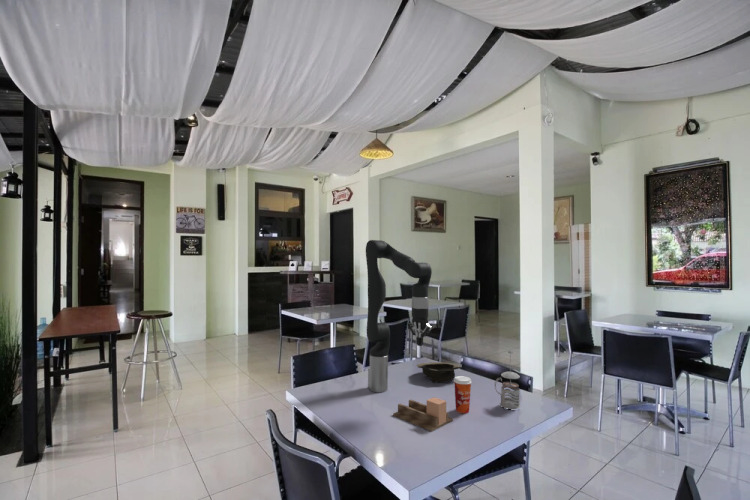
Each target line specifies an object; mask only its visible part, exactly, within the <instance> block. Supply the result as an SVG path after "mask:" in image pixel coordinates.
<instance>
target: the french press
mask: <svg viewBox="0 0 750 500" xmlns="http://www.w3.org/2000/svg"><path fill="white" fill-rule="evenodd" d="M507 353H508V354H509V371H504V372H502V373H501V374H500V375H501V377H497V378H496V379H495V382H494V389H495V391H496V393H497V394H499V395H500V403H499V404H500V406H502V407H504V408H508V409H517V408H520V406H521V405H520V389H521V388H519V384H518V383H516V382H512V380H519V379H520V377H521V376H520V375H519V374H518V373H516V372H513V371H511V370H512V369H511V367H512V366H511V362H512V361H511V360H512V359H511V356H512V355H511V354H513V350H510V349H509V350H508V352H507ZM502 378H504V379H509V381H504V382H503V379H502ZM498 381H501V382H502V384H501V385H502V386H501V392H500V391H498V390H497V387H496V386H497V383H498ZM500 406H499V407H500Z"/></svg>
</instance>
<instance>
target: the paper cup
mask: <svg viewBox="0 0 750 500" xmlns="http://www.w3.org/2000/svg"><path fill="white" fill-rule="evenodd" d="M453 382H454V398H455V399H454V400H455V411H456V413H459V414H468V413H469V412H470V407H471V406H470V405H471V404H470V403H471V389H472V388H471V387H472V379H471V378H470V377H468V376H463V375H460V376H459V375H458V376H455V377H454V379H453Z"/></svg>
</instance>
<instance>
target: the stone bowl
mask: <svg viewBox="0 0 750 500" xmlns="http://www.w3.org/2000/svg"><path fill="white" fill-rule="evenodd" d="M416 366H417V368H419V369H422V374H423V375H425V377H428V378H430V379H431V382H432V383H434V384H435V382H436V383H438V384H439V383H444V382H445V383H446V382H447V383H448V382H449V381H450V380H454V379H455V377H456V374H455V373H456V372H455V370H459V369H460V368H462V367H463V366H462V365H459V364H456V363H452V362H445V361H444V362H438V361H437V362H430V361H429V362H422V363H417V364H416Z"/></svg>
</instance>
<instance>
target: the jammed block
mask: <svg viewBox="0 0 750 500" xmlns="http://www.w3.org/2000/svg"><path fill="white" fill-rule="evenodd" d="M426 405H427V414H429V415H431V416H434V417H437V418H438V425H440V424H442V423H444V422H446V412H447V401H446V400H443V399H441V398H437V397H432V398H428V399H426Z"/></svg>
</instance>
